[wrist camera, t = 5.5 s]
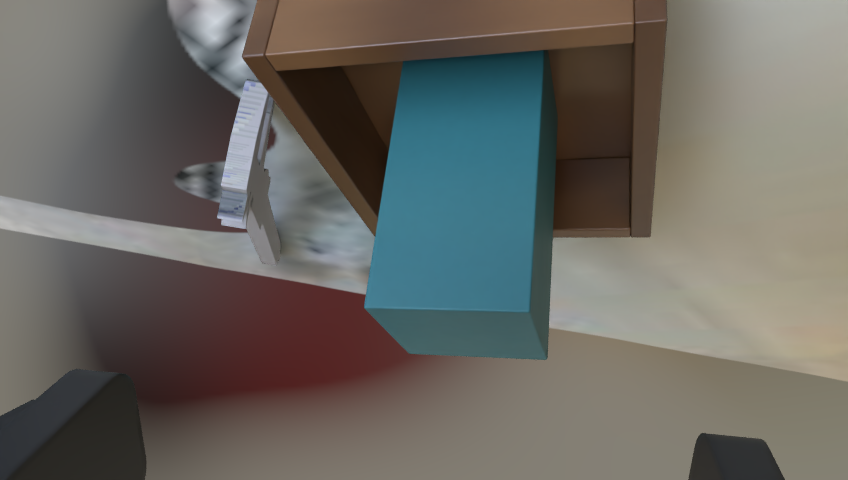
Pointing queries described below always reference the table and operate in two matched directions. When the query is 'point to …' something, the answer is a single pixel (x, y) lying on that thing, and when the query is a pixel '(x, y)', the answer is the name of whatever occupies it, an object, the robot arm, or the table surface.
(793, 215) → the table surface
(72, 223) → the table surface
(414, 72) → the block
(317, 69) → the box
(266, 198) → the caliper
